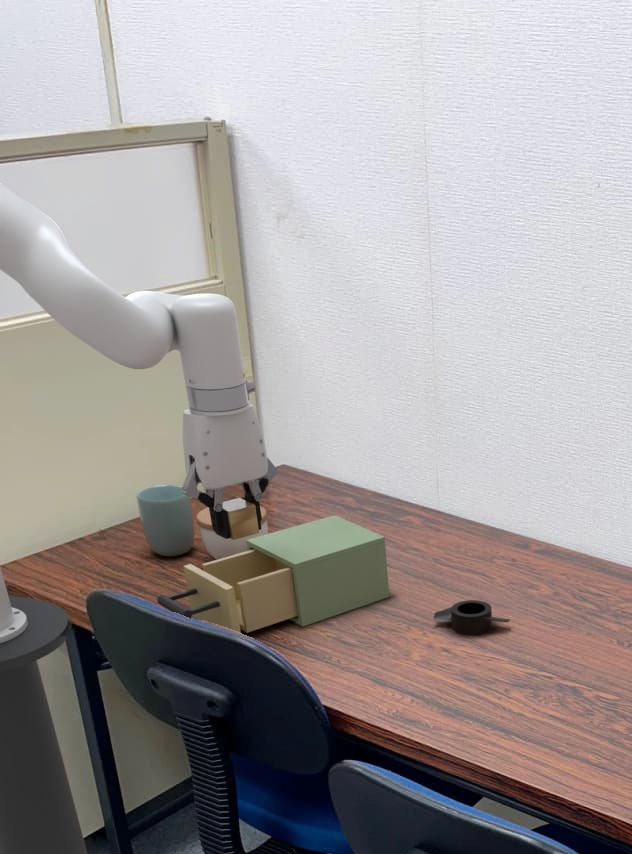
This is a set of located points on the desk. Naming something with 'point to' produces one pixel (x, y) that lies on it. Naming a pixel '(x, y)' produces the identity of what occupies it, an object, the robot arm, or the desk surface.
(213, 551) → the trinket box
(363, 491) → the desk surface
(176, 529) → the cup
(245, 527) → the block
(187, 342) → the robot arm
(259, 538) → the box
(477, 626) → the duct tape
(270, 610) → the drawer
